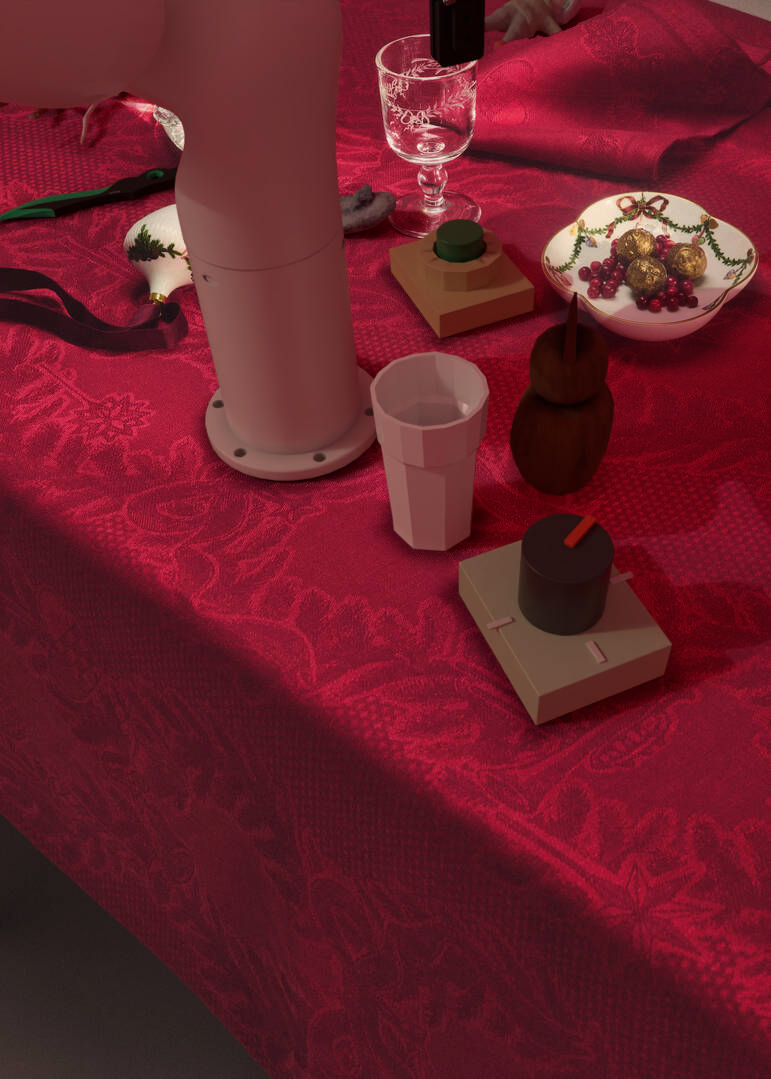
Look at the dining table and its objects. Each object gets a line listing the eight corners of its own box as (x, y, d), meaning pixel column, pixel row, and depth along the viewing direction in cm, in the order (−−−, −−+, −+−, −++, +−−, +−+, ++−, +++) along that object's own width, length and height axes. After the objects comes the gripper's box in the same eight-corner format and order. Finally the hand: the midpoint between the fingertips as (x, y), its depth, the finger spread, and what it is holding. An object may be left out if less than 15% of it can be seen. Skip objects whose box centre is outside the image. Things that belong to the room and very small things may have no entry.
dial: (574, 650, 53) (583, 594, 49) (500, 607, 55) (503, 550, 52) (621, 593, 55) (632, 535, 52) (548, 554, 58) (554, 496, 54)
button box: (390, 271, 82) (388, 228, 79) (478, 246, 84) (478, 203, 81) (439, 338, 76) (438, 295, 73) (533, 310, 78) (536, 266, 75)
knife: (227, 145, 97) (238, 169, 94) (228, 153, 97) (240, 177, 94) (-16, 197, 93) (-13, 224, 90) (-13, 205, 94) (-10, 232, 90)
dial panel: (450, 596, 60) (450, 562, 58) (583, 548, 62) (587, 514, 59) (527, 729, 54) (530, 698, 51) (672, 672, 55) (681, 639, 53)
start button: (429, 245, 78) (428, 225, 77) (471, 233, 79) (471, 213, 78) (448, 269, 76) (448, 249, 75) (490, 256, 77) (491, 236, 75)
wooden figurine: (576, 522, 63) (601, 330, 52) (495, 491, 65) (501, 301, 54) (618, 456, 67) (650, 263, 55) (540, 429, 69) (555, 238, 58)
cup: (362, 537, 63) (347, 406, 55) (414, 471, 67) (407, 339, 59) (454, 575, 61) (453, 444, 53) (502, 505, 65) (508, 372, 56)
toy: (453, -8, 105) (547, -68, 110) (442, 32, 110) (532, -26, 115) (525, 60, 104) (617, -3, 109) (511, 98, 109) (599, 36, 114)
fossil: (292, 210, 85) (311, 174, 88) (304, 243, 88) (322, 208, 90) (383, 208, 82) (399, 171, 85) (393, 242, 85) (408, 205, 87)
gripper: (341, -308, 56) (364, 30, 70) (450, -261, 47) (452, 118, 61) (462, -325, 58) (461, 9, 72) (591, -284, 49) (561, 91, 62)
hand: (457, 58), depth 66 cm, fingers closed
